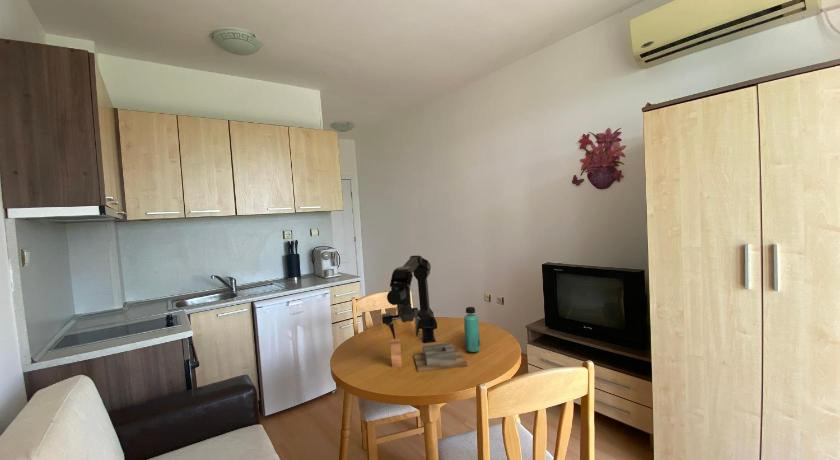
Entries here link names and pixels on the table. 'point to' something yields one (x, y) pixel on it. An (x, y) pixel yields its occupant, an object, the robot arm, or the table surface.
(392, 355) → the peg
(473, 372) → the table surface
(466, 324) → the beverage bottle
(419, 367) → the socket board
